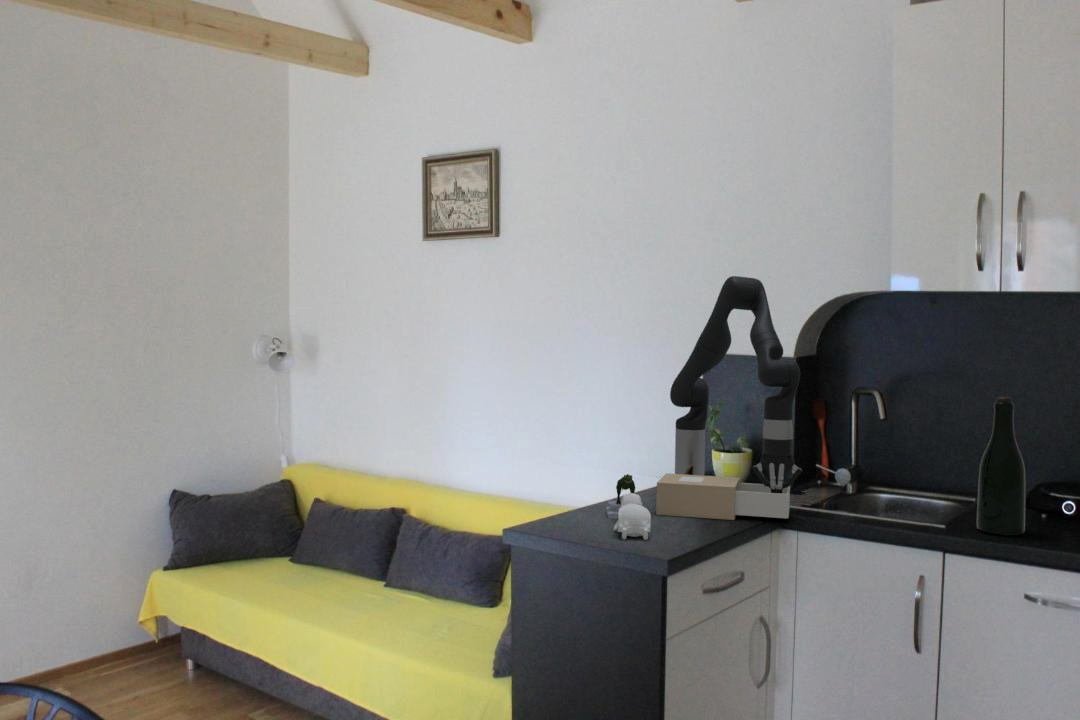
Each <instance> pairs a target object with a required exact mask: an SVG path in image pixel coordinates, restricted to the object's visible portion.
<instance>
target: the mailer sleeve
mask: <svg viewBox="0 0 1080 720" xmlns="http://www.w3.org/2000/svg"><path fill="white" fill-rule="evenodd" d="M738 483H741V479H740V477H733V476H719V475H718V476H717V475H715V476H714V475H704V476H702V475H684V474H675V473H667V472H666V473H665V474H664V475H663V476H661V478H660V479H659V480H658V481H657V482H656V504H655V505H656V507H655V508H656V510H655V511H656V512H655V514H656V515H657V516H659V515H660V516H672V517H674V516H675V517H684V518H685V517H686V518H687V517H688V518H700V519H701V518H702V519H713V520H714V519H717V520H727V521H729V520H730V521H735V519H736V517H737V515H735V489H736V487H737V485H738Z"/></svg>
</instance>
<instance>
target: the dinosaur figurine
mask: <svg viewBox="0 0 1080 720" xmlns="http://www.w3.org/2000/svg"><path fill="white" fill-rule="evenodd" d="M615 488H616V494H617V499H614V500H613V499H612V500H609V501H607V504H608V505H609V506H606V507H605V508H606V516H607V517H608V519H609V520H618V512H619V508H621V499H620V496H621V493H622V491H626V490H629V493H634V494H635V493H636V484H635V482H634V480H633V475H632V474H631V475H630V474H626V475H625V474H624V475H623V476H622V477H621V478H620V479H618V480H617V482H616V486H615ZM641 503H642V506H643V504H644V503H643V502H642V501H641Z"/></svg>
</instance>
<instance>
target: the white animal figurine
mask: <svg viewBox="0 0 1080 720" xmlns="http://www.w3.org/2000/svg"><path fill="white" fill-rule="evenodd" d="M620 500H621V508H619V512H618V519H617V521H616V522H615V524H614V526H613V532H617V533H621V539H622V540H627V537H633V538H636V537H642V538H643V541H646V540H648V538H649V534H648V533H651V530H652V529H651V527H652V524H651V523H652V521H651V520H652V519H651V518H652V516H651V512H650V511H649V509H648V508H646V507H645V506H643V505H642V503H643V502H642V498H641V495H639V494H637V493H635V492H634V493H630V492H629V493H624V494H623V495H622V496H621V499H620ZM641 502H642V503H641Z"/></svg>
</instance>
